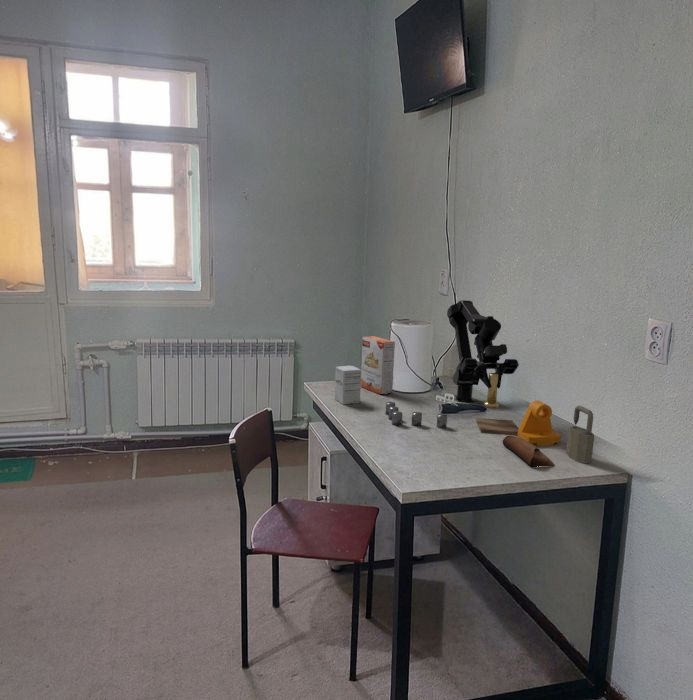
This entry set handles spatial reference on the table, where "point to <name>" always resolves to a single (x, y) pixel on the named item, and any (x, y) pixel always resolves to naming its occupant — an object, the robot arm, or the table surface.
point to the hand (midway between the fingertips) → (494, 387)
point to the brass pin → (492, 391)
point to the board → (497, 426)
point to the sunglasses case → (527, 451)
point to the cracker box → (377, 364)
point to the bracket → (538, 425)
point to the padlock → (581, 438)
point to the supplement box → (347, 384)
